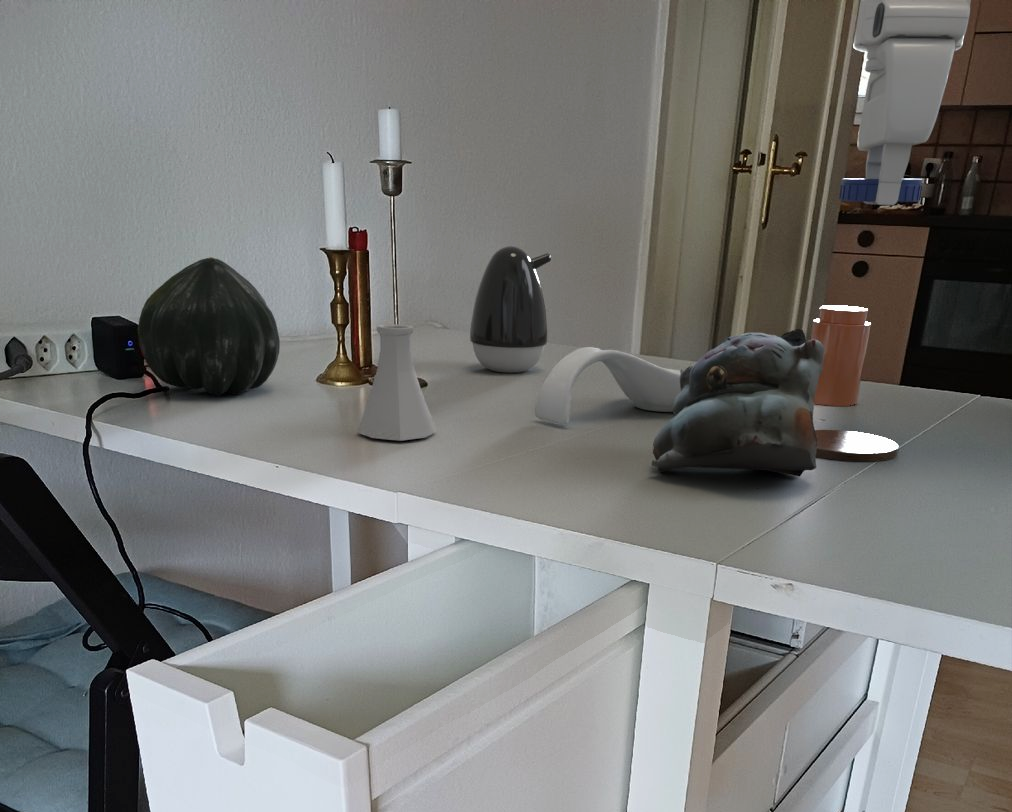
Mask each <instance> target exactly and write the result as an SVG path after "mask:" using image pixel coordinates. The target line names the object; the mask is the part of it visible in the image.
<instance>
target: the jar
mask: <svg viewBox="0 0 1012 812" xmlns="http://www.w3.org/2000/svg"><path fill="white" fill-rule="evenodd" d="M818 310H819V317H818V318H816V319H813V321H812V328H811V335H810V340H811V339H815V340H818V341H819V342H821V344H822V345H824V350H825V353H824V356H823V370H822V372H821V374H820V375H819V379H818V386H817V389H816V393H815V397H814V405H818V406H819V405H820V406H828V407H829V406H830V407H851V406H855V405H857V404H858V400H859V395H860V388H861V383H862V377H863V372H864V371H863V370H864V367H865V361H866V355H867V348H868V343H869V337H870V332H871V326H872V323H871V322H868V321H867V317H868V312H869V309H868V308H864V307H859V306H848V305H822V306H820V307H819V309H818ZM856 403H857V404H856ZM854 404H855V405H854ZM850 405H851V406H850Z"/></svg>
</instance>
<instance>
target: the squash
mask: <svg viewBox="0 0 1012 812" xmlns="http://www.w3.org/2000/svg"><path fill="white" fill-rule="evenodd" d="M137 337H138V343H139V348H140V351H141V354H142V356H143V358H144V361H145V362H146V364H147V366H148V367H149V369H150V371H151V372H152V373H153V374H154V375H155V376H156V378H158V379H159V380H160V381H161V382H163V383H165V384H167V385H169V386H171V387H176V388H189V389H194V390H199V389H202V388H203V389H204V390H205V391H206V392H207V393H209V394H211V395H214V396H222V395H223V394H225V393H226V392H227V393H228V394H231V395H240V394H243V393H245V392H247V391H248V390H254V389H256V388H259V387H261V386H263V384H265V383H266V382H267V380H268V379H269V377H270V376H271V375H272V374H273V371H274V370H275V368H276V364H277V362H278V359H279V355H280V348H281V345H280V344H281V342H280V341H281V340H280V334H279V329H278V325H277V321H276V319H275V316H274V314H273V312H272V310H271V309H270V307H269V306H268V305H267V302H266V300H265V298H264V297H263V296H262V294H261V293H260V292H259V290H258V289H257V288H256V286H254V285H253V283H251V282H250V281H249V280H248V279H247V278H245V277H244V276H243V275H242V274H240V273H239V272H238V271H237V270H235V269H234V268H233V267H232V266H230V265H229V264H228V263H226V262H224V261H223V260H221V259H219V258H215V257H207V258H202V259H199V260H197V261H195V262H193V263H191V264H189V265H187V266H186V267H184V268H183V269H181V270H179V271H178V272H176V273H175V274H174V275H172V276H171V277H170V278H168V279H167V280H166V281H165V282H163V283H162V285H160V286H159V287H158V288H157V289H155V290H154V292H153V293H151V295H149V297H148V298H147V299H146V301H145V302H144V304H143V307H142V308H141V313H140V316H139V320H138V324H137Z"/></svg>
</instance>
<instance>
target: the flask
mask: <svg viewBox="0 0 1012 812" xmlns="http://www.w3.org/2000/svg"><path fill="white" fill-rule="evenodd" d="M376 332H377V334H379V338H380V339H379V340H380V342H379V343H380V348H379V349H380V350H379V356H378V362H377V369H376V373H375V376H374V379H373V382H372V385H371V388H370V392H369V395H368V399H367V401H366V403H365V406H364V410H363V412H362V416H361V418H360V422H359V424H358V427H357V430H356V433H358V434H361V435H364V436H365V437H369V438H371V439H377V440H378V439H379V440H389V441H400V442H401V441H408V440H416V439H424V438H428V437H430V436H431V435H433V434H435V433H436V432H437V429H436V425H435V423H434V421H433V417H432V415H431V413H430V410H429V407H428V405H427V402H426V400H425V396H424V394H423V391H422V387H421V384H420V383H419V379H418V377H417V373H416V371H415V366H414V360H413V356H412V349H411V335H412V334H413V333H414V326H412V325H407V324H398V323H397V324H396V323H391V324H390V323H389V324H381V325H377V326H376Z"/></svg>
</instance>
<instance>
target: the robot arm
mask: <svg viewBox="0 0 1012 812" xmlns="http://www.w3.org/2000/svg"><path fill="white" fill-rule="evenodd" d="M971 2H972V0H860V2H859V9H858V15H857V20H856V27H855V34H854V38H853V39H854V40H853V46H852V47H853V49H855V50H856V51H858V52H861V53H862V52H863V53H866V61H865V65H864V71H865V72H867V73H869V76H868V81H867V84H866V89H865V95H864V100H863V105H862V110H861V116H860V123H859V128H858V134H857V150H858V151H861V152H867V156H866V161H865V179H879V182H877V188H876V194H875V199H874V200H875V202H863V203H864V204H865V205H874V206H875V205H876V206H877V205H878V206H895V205H896V204H897V203H898V202H897V201H898V197H899V192H900V187H901V182H902V180H903V179H904V177H905V173H906V170H907V168H908V165H909V161H910V158H911V153H912V148H913V146H917V145H921V144H924V143H926V142H927V141H928V140H929V138H930V136H931V134H932V132H933V129H934V127H935V124H936V122H937V119H938V115H939V111H940V108H941V104H942V100H943V97H944V94H945V89H946V85H947V82H948V77H949V75H950V70H951V67H952V64H953V63H952V62H953V58H954V53H955V51H958V50H960V49H961V48H962V47H963V44H964V38H965V35H966V33H967V29H968V26H969V25H968V24H969V20H970V15H971Z"/></svg>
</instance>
